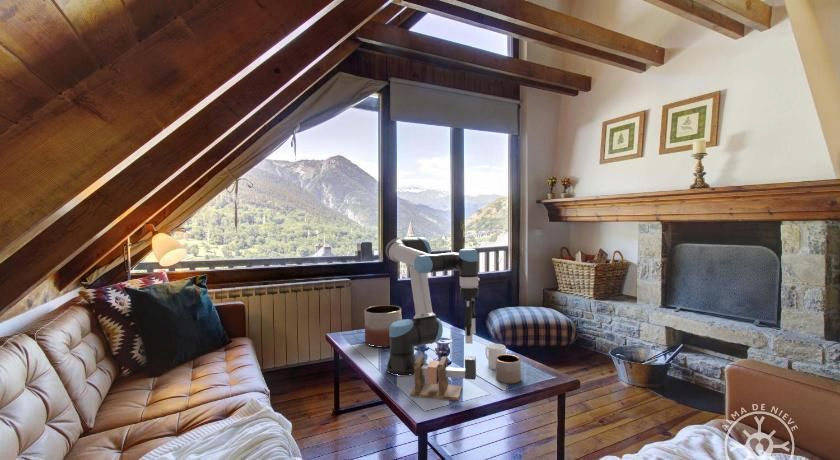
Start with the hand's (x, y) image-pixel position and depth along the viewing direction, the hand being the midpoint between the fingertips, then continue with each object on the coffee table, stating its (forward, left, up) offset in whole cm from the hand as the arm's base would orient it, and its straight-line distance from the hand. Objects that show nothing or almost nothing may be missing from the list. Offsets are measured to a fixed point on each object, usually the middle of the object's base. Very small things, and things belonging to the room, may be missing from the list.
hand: (470, 338), depth 162 cm
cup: (+7, +33, -24) cm, 41 cm away
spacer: (-16, -1, -18) cm, 24 cm away
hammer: (-10, -1, -16) cm, 19 cm away
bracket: (-15, -1, -23) cm, 28 cm away
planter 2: (+14, +18, -24) cm, 33 cm away
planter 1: (-59, +59, -24) cm, 87 cm away
